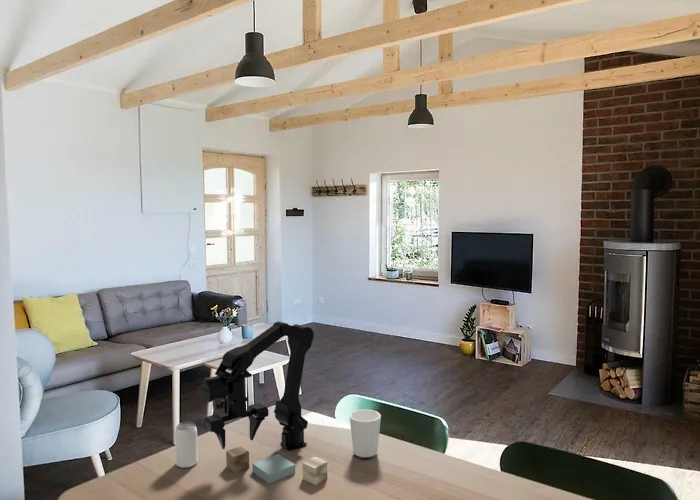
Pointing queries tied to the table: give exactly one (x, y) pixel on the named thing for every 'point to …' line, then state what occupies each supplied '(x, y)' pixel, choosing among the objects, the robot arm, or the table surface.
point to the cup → (365, 432)
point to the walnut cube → (237, 459)
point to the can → (186, 445)
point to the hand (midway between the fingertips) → (237, 444)
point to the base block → (273, 468)
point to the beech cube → (314, 470)
